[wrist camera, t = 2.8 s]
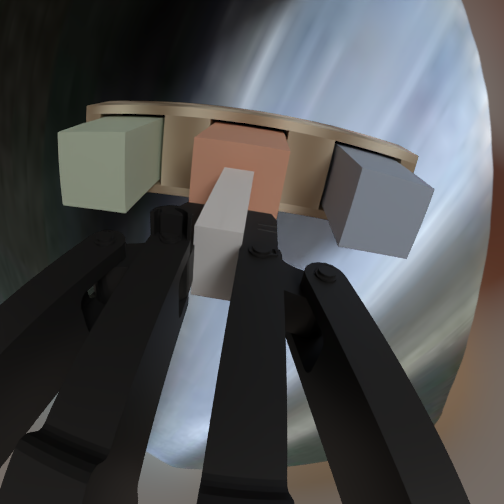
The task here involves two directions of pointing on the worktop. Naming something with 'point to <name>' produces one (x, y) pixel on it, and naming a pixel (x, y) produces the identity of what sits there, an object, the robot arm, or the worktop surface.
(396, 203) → the slate block
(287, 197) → the socket rail
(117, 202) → the sage block
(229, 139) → the terracotta block
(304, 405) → the worktop surface
